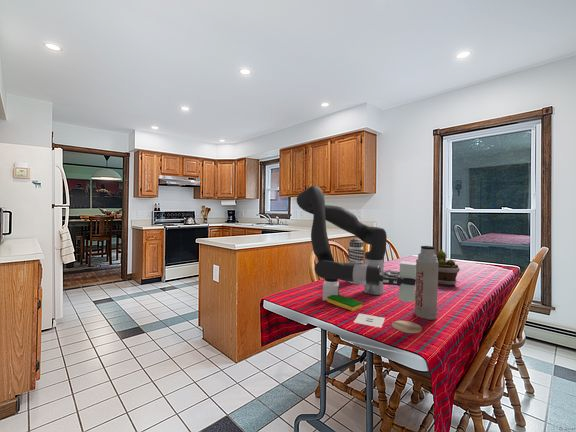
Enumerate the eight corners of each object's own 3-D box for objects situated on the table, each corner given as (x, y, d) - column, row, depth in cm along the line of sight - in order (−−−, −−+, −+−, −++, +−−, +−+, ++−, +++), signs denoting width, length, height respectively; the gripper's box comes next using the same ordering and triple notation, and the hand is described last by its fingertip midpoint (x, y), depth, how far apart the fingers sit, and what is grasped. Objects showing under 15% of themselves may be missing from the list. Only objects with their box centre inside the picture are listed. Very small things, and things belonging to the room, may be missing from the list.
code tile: (359, 314, 115) (359, 313, 115) (385, 318, 110) (385, 317, 110) (353, 323, 106) (353, 322, 106) (381, 328, 101) (381, 327, 101)
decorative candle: (347, 283, 160) (348, 239, 160) (346, 279, 170) (347, 237, 169) (364, 284, 159) (365, 239, 158) (362, 280, 168) (363, 238, 167)
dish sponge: (336, 298, 132) (336, 293, 132) (362, 307, 122) (362, 302, 122) (326, 301, 127) (326, 296, 127) (352, 311, 117) (353, 305, 117)
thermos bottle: (421, 319, 110) (423, 247, 109) (410, 312, 117) (412, 244, 116) (441, 319, 110) (443, 247, 109) (429, 311, 118) (431, 244, 117)
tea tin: (399, 296, 105) (401, 261, 105) (415, 298, 103) (416, 262, 102) (398, 300, 101) (399, 263, 100) (414, 302, 98) (415, 265, 98)
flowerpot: (465, 287, 154) (466, 251, 154) (437, 287, 155) (438, 250, 154) (450, 280, 169) (451, 247, 168) (424, 280, 169) (425, 247, 168)
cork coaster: (393, 320, 109) (393, 318, 109) (422, 325, 104) (422, 323, 104) (390, 330, 100) (390, 328, 100) (421, 336, 95) (421, 334, 95)
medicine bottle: (338, 301, 129) (338, 275, 129) (322, 300, 131) (323, 274, 130) (338, 296, 136) (339, 272, 136) (323, 295, 138) (324, 271, 137)
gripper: (363, 268, 101) (415, 274, 94) (370, 261, 114) (417, 266, 107) (362, 289, 102) (414, 296, 94) (370, 279, 114) (416, 286, 107)
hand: (415, 280), depth 100 cm, fingers closed on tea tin, 5 cm apart
